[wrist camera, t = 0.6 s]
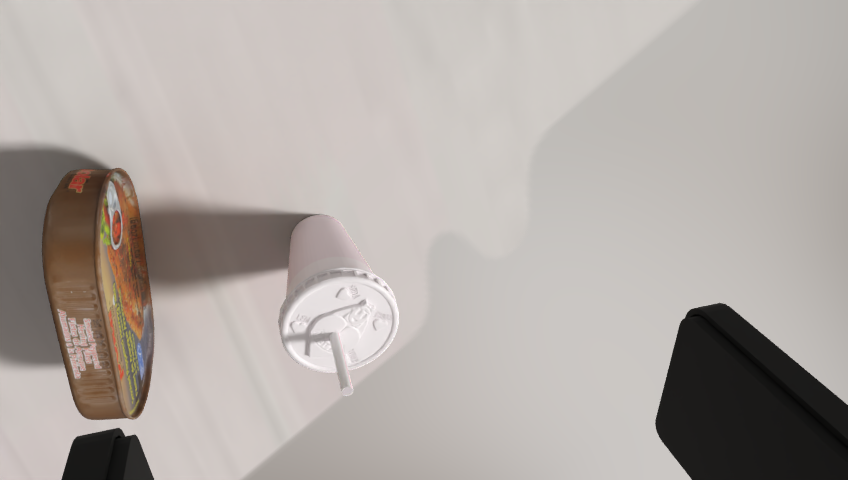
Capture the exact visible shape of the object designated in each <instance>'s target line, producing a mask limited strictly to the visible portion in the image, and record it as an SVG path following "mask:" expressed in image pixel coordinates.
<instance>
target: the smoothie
mask: <svg viewBox="0 0 848 480" xmlns="http://www.w3.org/2000/svg"><path fill="white" fill-rule="evenodd" d="M278 323H279V329H280V335H281V339H282V343H283V345H284V348H285V350H286V351H287V353H288V354H289V355H290V357H291V358H292V359H293V360H295V361H296V362H297V363H298V364H300V365H302V366H304V367H306V368H308V369H311V370H314V371H318V372H325V373H337V374H338V379H339V383H340V387H341V392H342V394H343V395H345V396H348V395H351V394H352V393H353V386H352V382H351V378H350V374H349V371H350V370H354V369H357V368H359V367H362V366H364V365H366V364H368V363H370V362H371V361H373V360H374V359H376V358H377V357H378V356H380V355H381V354H382V353H383V352H384V351H385V350H386V349H387V348H388V346H389V345H390V344H391V342H392V341H393V339H394V337H395V335H396V332H397V329H398V324H399V312H398V308H397V305H396V300H395V297H394V294H393V292H392V290H391V288H390V287H389V286H388V285H387V284H386V282H385V281H384V280H383V279H381V278H380V277H378V276H377V275H375V274H374V272H373V271H372V270H371V268H370V267H369V265H368V264H367V262H366V260H365V259H364V257H363V256H362V254H361V253H360V251H359V250H358V248H357V247H356V245H355V244H354V242H353V241H352V239H351V237H350V236H349V234H348V233H347V231H346V230H345V228H344V227H343V225H342V224H341V223H340V222H339V221H338V220H336V219H335V218H333V217H330V216H327V215H314V216H310V217H308V218H305V219H304V220H302V221H301V222H299V223H298V224H297V226H296V227H295V228H294V230H293V232H292V234H291V241H290V254H289V267H288V280H287V293H286V299H285V301H284V303H283V305H282V307H281V309H280V315H279V321H278Z"/></svg>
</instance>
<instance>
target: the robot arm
mask: <svg viewBox="0 0 848 480" xmlns="http://www.w3.org/2000/svg"><path fill="white" fill-rule="evenodd" d="M655 424H656V430H657V433H658V435H659V437H660V439H661V440H662V442H663V443H664V444H665V446H666V447H667V448H668V449H669V451H670V452H671V453H672V455H673V456H674V457H675V458H676V460H677V461H678V462H679V464H680V465H681V466H682V467H683V469H684V470H685V471H686V472H687V474H688V475H689V476H690V477H691V479H692V480H848V405H847V404H846V403H844V402H843V401H842V400H841V399H840V398H838V397H837V396H836V395H834V393H832V392H831V391H830V390H829V389H828V388H826V387H825V386H824V385H823V384H822V383H820V382H819V381H818V380H817V379H815V378H814V377H813V376H812V375H811V374H810V373H808V372H807V371H806V370H805V369H804V368H802V367H801V366H800V365H799V364H798V363H796V362H795V361H794V360H793V359H792V358H790V357H789V356H788V355H787V354H786V353H784V352H783V351H782V350H781V349H779V348H778V347H777V346H776V345H775V344H774V343H772V342H771V341H770V340H769V339H768V338H766V337H765V336H764V335H763V334H761V333H760V332H759V331H758V330H757V329H755V328H754V327H753V326H752V325H751V324H750V323H748V322H747V321H746V320H745V319H744V318H742V317H741V316H740V315H739V314H738V313H736V312H735V311H734V310H733V309H732V308H730V307H729V306H727V305H726V304H722V303H718V304H713V305H708V306H703V307H699V308H694V309H691V310H690V311H689V312H688V313H687V315H686V317H685V319H683V320H682V321H681V323H680V326H679V330H678V334H677V338H676V342H675V345H674V349H673V353H672V357H671V361H670V366H669V369H668V373H667V377H666V381H665V385H664V389H663V393H662V397H661V401H660V405H659V409H658V413H657V417H656V423H655ZM62 480H154V478H153V475H152V473H151V470H150V468H149V465H148V462H147V460H146V457H145V455H144V452H143V449H142V447H141V444H140V442H139V439H138V437H137V436H136V435H131V436H126V437H125V435H124V433H123V431H122V430H121V429H120V428H116V429H111V430H106V431H102V432H97V433H92V434H87V435H82V436H78V437H76V438H75V439H74V441H73V443H72V446H71V449H70V452H69V456H68V459H67V463H66V466H65V470H64V473H63V476H62Z"/></svg>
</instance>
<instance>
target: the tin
mask: <svg viewBox="0 0 848 480" xmlns="http://www.w3.org/2000/svg"><path fill="white" fill-rule="evenodd" d="M42 256H43V269H44V278H45V284H46V289H47V293H48V298H49V302H50V307H51V311H52V315H53V320H54V323H55V328H56V332H57V336H58V341H59V344H60V349H61V353H62V357H63V361H64V365H65V369H66V373H67V377H68V381H69V385H70V389H71V393H72V396H73V400H74V402H75V405H76V407H77V409H78V411H79V412H80V414H81V415H82V416H83V417H85V418H87V419H91V420H105V419H121V418H129V419H137V418H138V417H139V416H140V415H141V413H142V411H143V409H144V406H145V403H146V400H147V397H148V392H149V387H150V381H151V373H152V364H153V354H154V319H153V308H152V300H151V292H150V286H149V278H148V272H147V264H146V257H145V249H144V241H143V234H142V227H141V220H140V213H139V207H138V201H137V196H136V193H135V190H134V186H133V183H132V181H131V179H130V177H129V175H128V174H127V173H126V171H124V170H123V169H121V168H115V169H112V170H91V169H81V170H73V171H70V172H69V173H67V174H66V175H65V176H64V178H63V179H62V180H61V182H60V183H59V185H58V187H57V189H56V190H55V192H54V193H53V195H52V196H51V198H50V200H49V203H48V205H47V209H46V214H45V219H44V227H43V238H42Z"/></svg>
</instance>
